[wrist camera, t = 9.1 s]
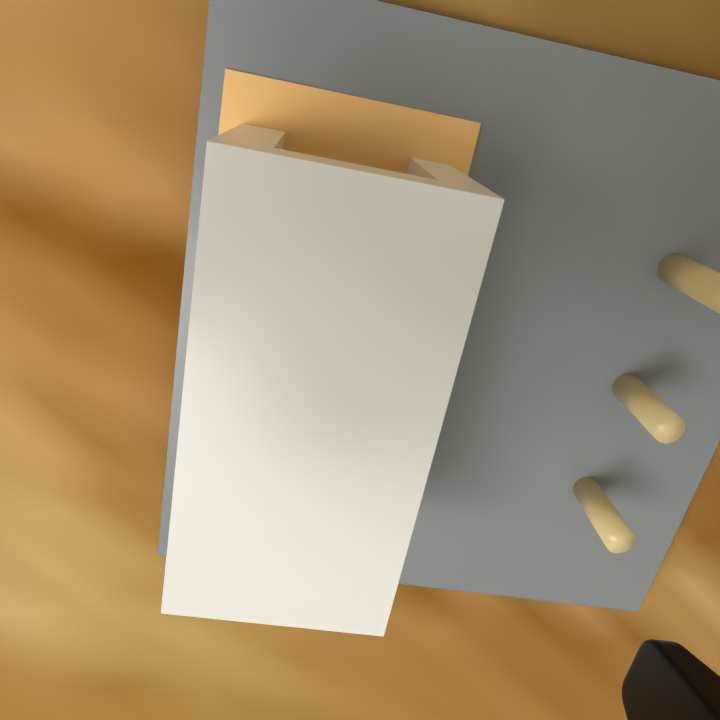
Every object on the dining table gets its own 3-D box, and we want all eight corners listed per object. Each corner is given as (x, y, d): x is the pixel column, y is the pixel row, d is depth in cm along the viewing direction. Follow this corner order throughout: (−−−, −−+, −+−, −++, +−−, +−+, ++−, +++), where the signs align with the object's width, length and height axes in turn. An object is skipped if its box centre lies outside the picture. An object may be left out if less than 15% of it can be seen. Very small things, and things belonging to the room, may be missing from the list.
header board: (843, 114, 17) (968, 121, 13) (625, 590, 23) (675, 673, 19) (219, -31, 14) (190, -63, 11) (165, 534, 21) (135, 617, 17)
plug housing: (450, 165, 15) (504, 199, 11) (368, 504, 19) (383, 636, 15) (242, 123, 15) (206, 141, 10) (200, 482, 19) (161, 613, 14)
